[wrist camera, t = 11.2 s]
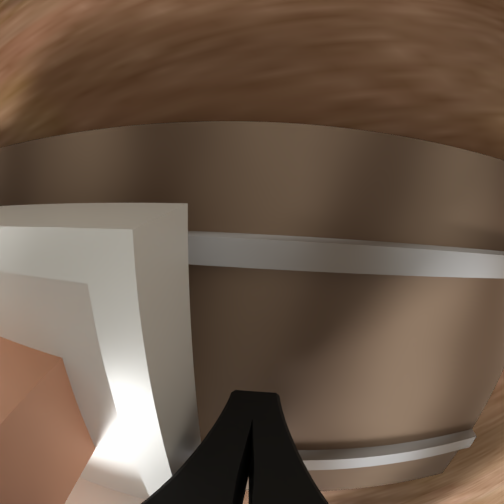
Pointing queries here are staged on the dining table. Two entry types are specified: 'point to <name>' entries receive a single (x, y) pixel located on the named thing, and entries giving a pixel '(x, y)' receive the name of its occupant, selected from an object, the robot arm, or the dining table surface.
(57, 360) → the terracotta block
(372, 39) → the dining table surface
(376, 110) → the dining table surface
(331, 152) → the track board
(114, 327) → the white square tray
